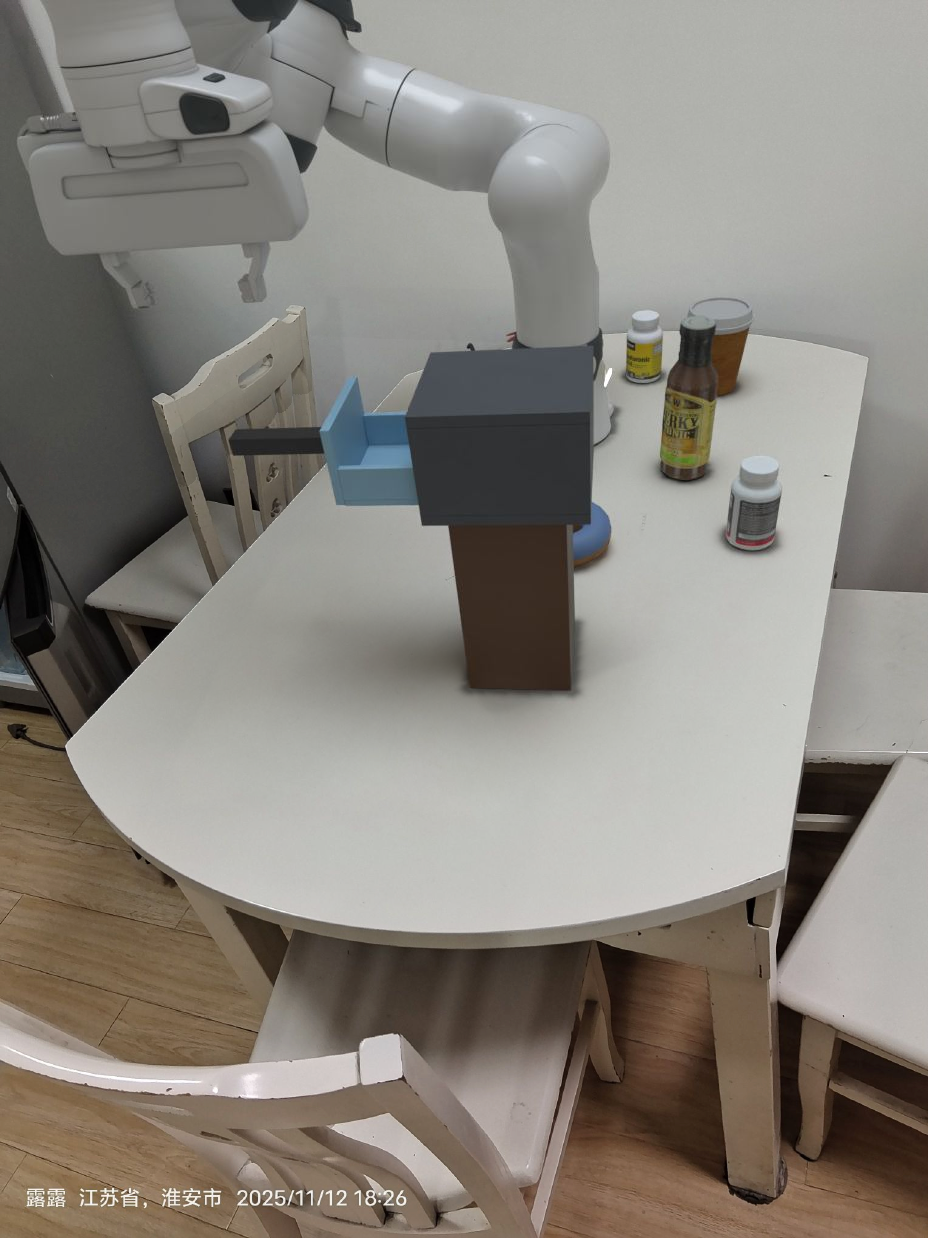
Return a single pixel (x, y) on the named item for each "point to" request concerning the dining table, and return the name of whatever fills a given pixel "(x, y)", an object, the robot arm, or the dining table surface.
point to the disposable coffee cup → (726, 335)
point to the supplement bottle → (644, 347)
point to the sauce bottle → (690, 402)
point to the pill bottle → (754, 504)
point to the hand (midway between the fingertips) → (200, 302)
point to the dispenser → (508, 499)
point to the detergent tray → (347, 450)
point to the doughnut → (591, 536)
